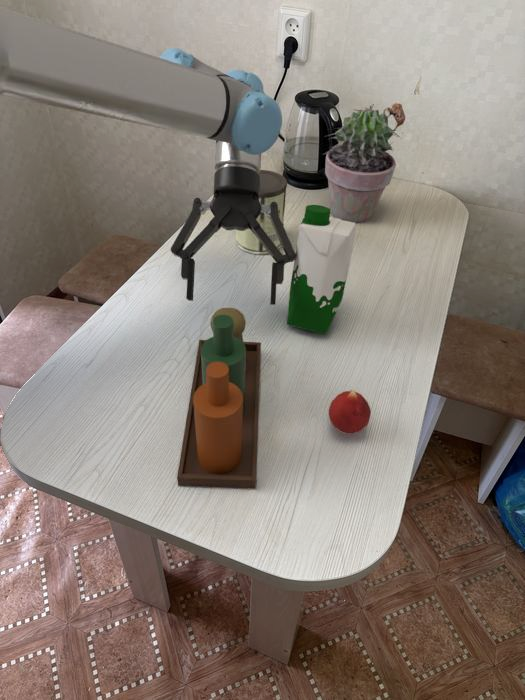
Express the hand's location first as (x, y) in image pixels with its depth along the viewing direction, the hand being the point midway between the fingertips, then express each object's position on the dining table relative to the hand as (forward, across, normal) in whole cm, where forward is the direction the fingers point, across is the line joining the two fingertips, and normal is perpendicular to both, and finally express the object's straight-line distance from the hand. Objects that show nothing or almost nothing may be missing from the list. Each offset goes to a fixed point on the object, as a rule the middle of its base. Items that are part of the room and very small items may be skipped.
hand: (231, 301), depth 82 cm
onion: (+19, -18, +8) cm, 27 cm away
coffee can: (-16, -4, -27) cm, 32 cm away
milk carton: (+2, -14, -8) cm, 16 cm away
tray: (+17, 0, +6) cm, 18 cm away
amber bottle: (+23, 0, +13) cm, 26 cm away
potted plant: (-27, -25, -38) cm, 53 cm away
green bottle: (+17, 0, +7) cm, 18 cm away
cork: (+11, 0, 0) cm, 11 cm away
